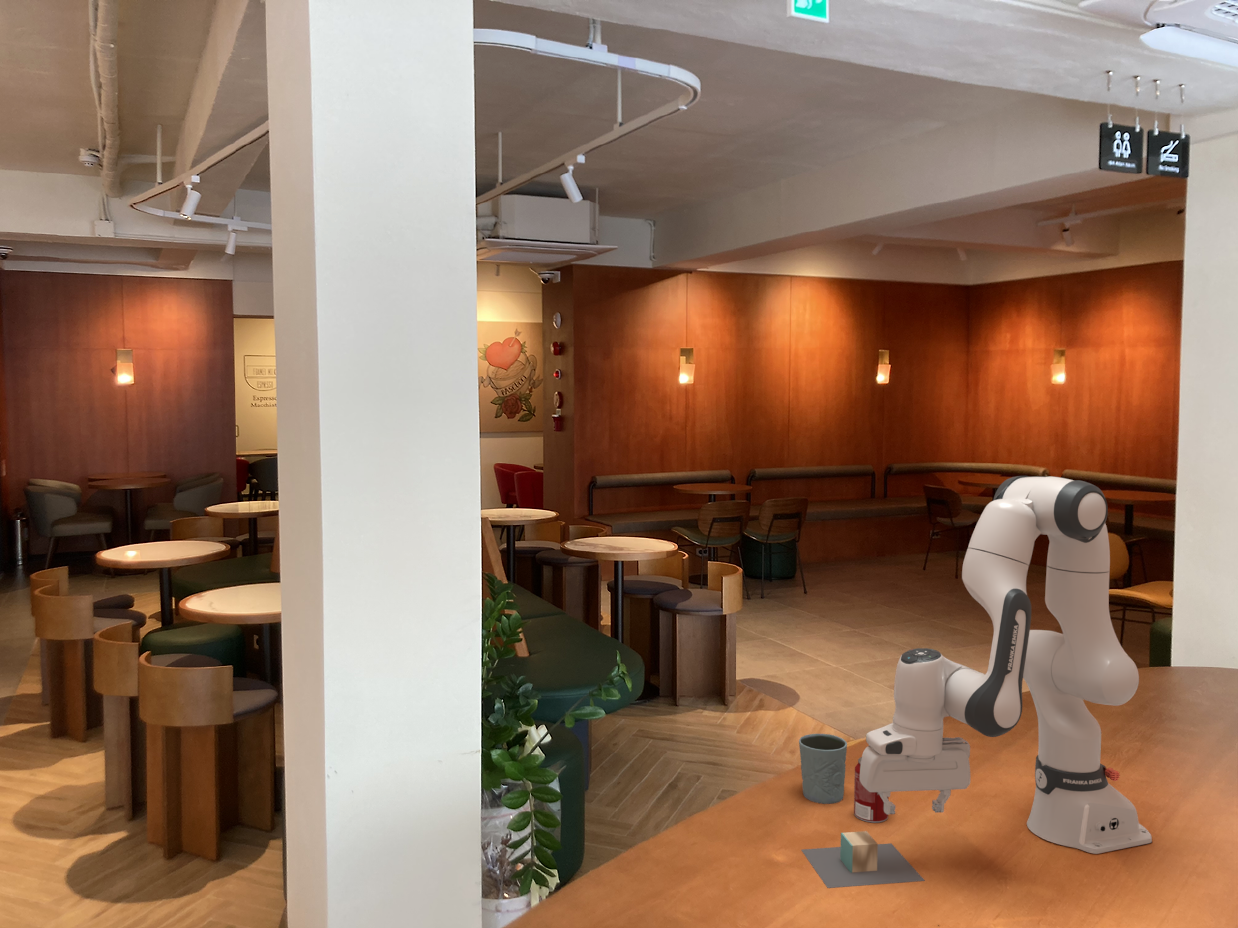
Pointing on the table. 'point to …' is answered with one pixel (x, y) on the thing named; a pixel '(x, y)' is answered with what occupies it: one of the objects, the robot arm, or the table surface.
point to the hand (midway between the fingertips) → (913, 812)
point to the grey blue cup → (823, 767)
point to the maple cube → (859, 851)
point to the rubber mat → (837, 874)
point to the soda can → (867, 801)
